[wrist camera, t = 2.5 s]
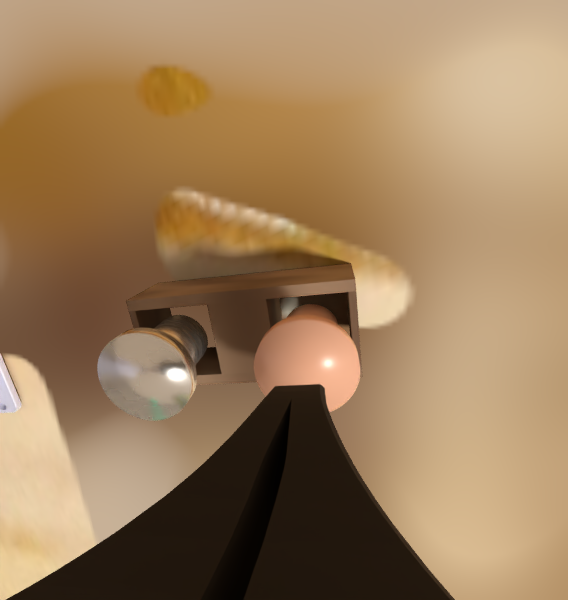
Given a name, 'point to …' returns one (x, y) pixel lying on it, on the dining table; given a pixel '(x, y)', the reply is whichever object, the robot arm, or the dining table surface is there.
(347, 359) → the terracotta plug
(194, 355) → the grey plug
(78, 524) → the dining table surface
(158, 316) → the plug block
